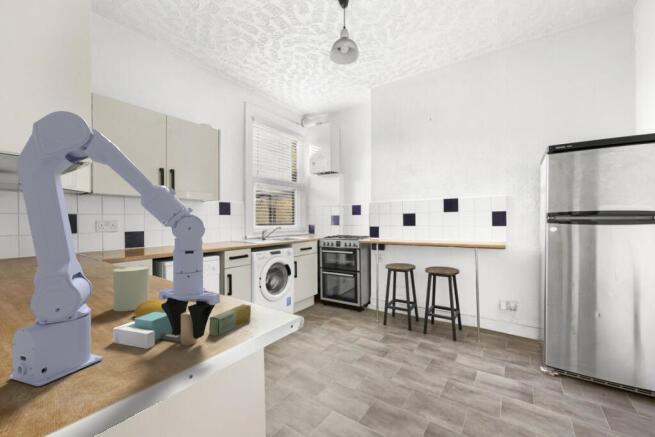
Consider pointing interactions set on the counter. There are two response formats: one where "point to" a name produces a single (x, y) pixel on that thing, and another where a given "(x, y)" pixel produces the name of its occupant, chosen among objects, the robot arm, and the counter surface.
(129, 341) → the white u-shaped bracket
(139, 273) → the can
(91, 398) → the counter surface
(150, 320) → the tethered block
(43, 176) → the robot arm
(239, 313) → the medication box
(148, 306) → the bread roll
